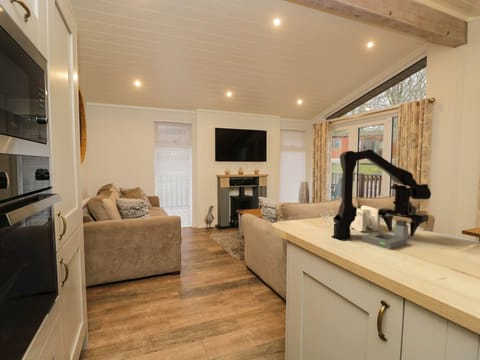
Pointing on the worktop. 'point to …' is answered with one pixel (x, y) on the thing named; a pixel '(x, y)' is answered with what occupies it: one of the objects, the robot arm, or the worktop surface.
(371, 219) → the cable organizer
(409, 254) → the worktop surface
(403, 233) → the plug
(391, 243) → the socket plate
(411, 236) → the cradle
